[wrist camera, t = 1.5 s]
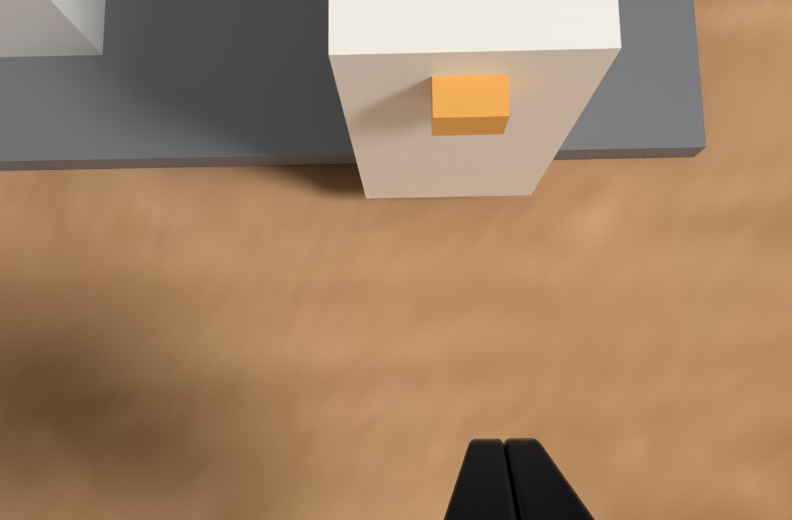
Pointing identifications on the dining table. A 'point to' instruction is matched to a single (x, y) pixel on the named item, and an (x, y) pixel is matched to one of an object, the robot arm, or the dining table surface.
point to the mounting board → (293, 91)
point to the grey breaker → (51, 27)
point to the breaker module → (465, 88)
